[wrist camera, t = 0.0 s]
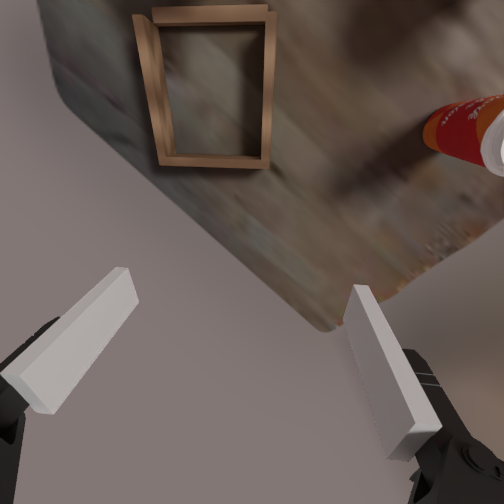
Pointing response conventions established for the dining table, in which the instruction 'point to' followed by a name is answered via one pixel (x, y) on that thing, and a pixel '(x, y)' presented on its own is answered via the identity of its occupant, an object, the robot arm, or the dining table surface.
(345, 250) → the dining table surface
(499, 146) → the paper cup
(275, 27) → the bay
